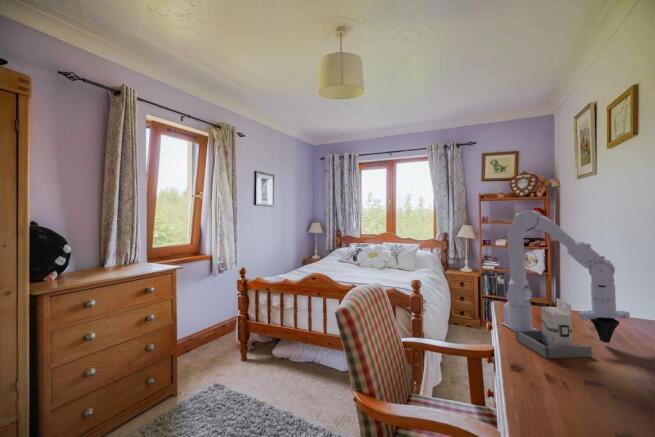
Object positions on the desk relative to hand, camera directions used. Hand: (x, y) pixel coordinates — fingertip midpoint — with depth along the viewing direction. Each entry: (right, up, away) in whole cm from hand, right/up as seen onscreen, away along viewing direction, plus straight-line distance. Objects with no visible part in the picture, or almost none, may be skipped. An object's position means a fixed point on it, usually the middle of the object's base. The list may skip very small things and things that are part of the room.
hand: (604, 341), depth 96 cm
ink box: (-15, -2, 0) cm, 15 cm away
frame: (-17, -2, 0) cm, 17 cm away
